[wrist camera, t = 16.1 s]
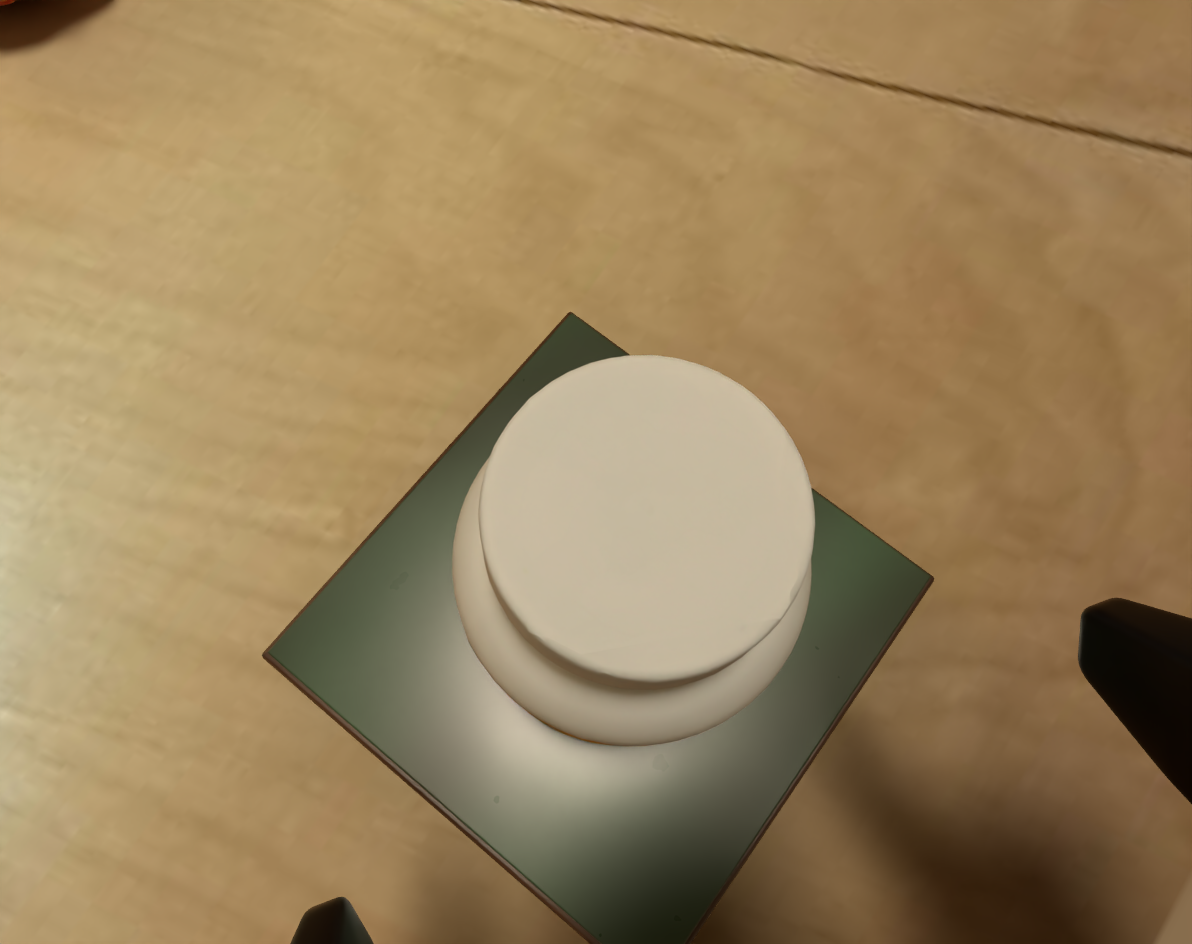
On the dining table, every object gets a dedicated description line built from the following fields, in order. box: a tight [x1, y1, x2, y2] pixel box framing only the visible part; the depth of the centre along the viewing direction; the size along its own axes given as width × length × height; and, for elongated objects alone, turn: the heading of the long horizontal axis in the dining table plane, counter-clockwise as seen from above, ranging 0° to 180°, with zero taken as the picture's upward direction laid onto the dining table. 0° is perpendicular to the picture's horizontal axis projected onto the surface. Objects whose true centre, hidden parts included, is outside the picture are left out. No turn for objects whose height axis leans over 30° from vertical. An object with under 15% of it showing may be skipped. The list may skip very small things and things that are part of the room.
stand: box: [262, 312, 934, 944], centre depth 21 cm, size 11×11×3 cm
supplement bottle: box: [452, 355, 815, 746], centre depth 15 cm, size 5×5×10 cm
